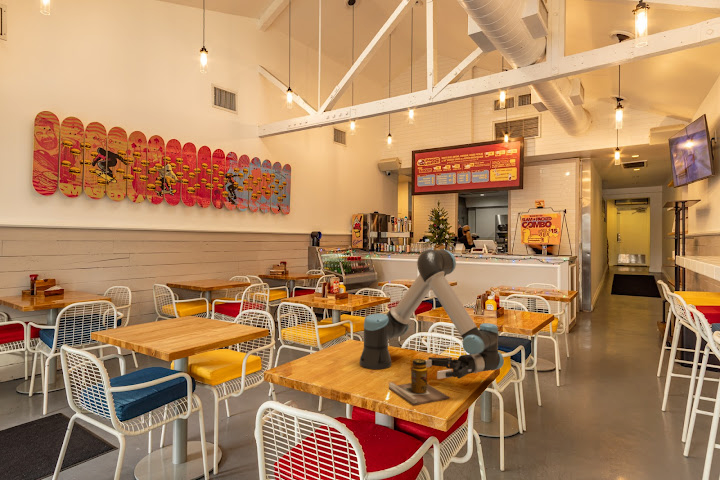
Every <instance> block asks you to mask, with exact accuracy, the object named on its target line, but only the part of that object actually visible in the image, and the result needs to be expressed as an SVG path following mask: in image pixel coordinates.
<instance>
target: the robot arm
mask: <svg viewBox="0 0 720 480" xmlns="http://www.w3.org/2000/svg"><path fill="white" fill-rule="evenodd" d="M456 261H457V260H456V257H455V255H454V254H453V253H452V252H451V251H449V250H447V249H443V248H441V249H427V250H425V251H423V252H421V253H420V255H419V256H418V258H417V261H416V266H417V267H416V268H417V270H418V273H419V275H418V276H417V277H416V278H415V279H414V281H413V282H412V284H411V286H410V287H409V288H408V289H407V291H406V293H404V295H403V296H402V298H401V299H400V301H399V302H398V303H397V304H396V306H393V307H391V308H390V309H389V310H388V312H387V313H386V314H384V313H372V314H369V315H366V316H365V318H364V322H363V349H362V352H361V355H360V358H359V365H360V366H361V367H362V368H365V369H370V370H384V369H387V368H390V367H392V359H391V354H390V351H389V340H391V339H394V338H399V337H401V336H403V335H404V334H406V333H407V332H408V330H409V329H410V328H409V327H410V325H409V324H410V323H411V317H412V315H413V314H414V313H415V311H416V310H417V309H418V307H419V306H420V305H421V303H422V301H424V299H425V298H426V296H428V294H429V293H430V291H431V290H432V293H434V295H435V297H436V298H437V300H438V302H439V303H440V304H441V306H442V308H443V310H444V311H445V313H446V314H447V316H448V317H449V320H450V321H451V322H452V324H453V325H454V327H455V329H456V331H457V332H458V334H459V335H460V337H461V339H462V348H463V350H464V352H466V353H467V354H461V355H459V357H458V358H457V359H455V358H454V359H452V358H453V357H431V356H430V357H428V359H424V360H425V361H426V368H431V367H432V366H433V367H434V366H435V367H442V368H446V369H444V370H443V369H442V370H438V371H436V379H437V380H442V379H446V378H452V377H453V378H457V379H458V380H459V379H462V378H465V376H467V375H469V374H477V373H481V372H488V371H490V372H491V371H496V370H499V369H502V367H503V366H504V362H505V361H504V357H503V354H502V353H501V352H500V351H499V326H498V325H496V324H494V323H488V322H487V323H486V322H485V323H484V322H483V323H481V324H480V325H479V328H478V325H476V323H475V322H474V320H473V318H472V317H471V316H470V313H468V310H466V307H465V306H464V304H463V303H462V301H461V300H460V298H459V297H458V295H457V294H456V292H455V290H454V289H453V287H452V285H451V284H450V283H449V281H448V280H447V278H446V276H447V275H450V274H452V273H453V272H454V270H456V266H457V262H456Z"/></svg>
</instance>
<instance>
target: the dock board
mask: <svg viewBox="0 0 720 480" xmlns="http://www.w3.org/2000/svg"><path fill="white" fill-rule="evenodd" d="M404 388H411V382H409V383H402V384H396V383H394V382H392V381H391V382H388V389H389V390H391V391H392V392H393V393H394V394H396V395H397V396H399V397H400V398H402V399H403V400H405V401H406V402H408V403H409V404H410V405H412V406H419V405H426V404H429V403H434V402H440V401H446V400H450V396H449V395H447V394H445V393H444V392H442V391H440V390H438V389H437V388H435V387H433V386H431V385H430V384H428V383H427V391H428V392H429V393H430V394H423V395H411V394H409V393H408V392H406V391H405V390H404Z"/></svg>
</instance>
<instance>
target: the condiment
mask: <svg viewBox="0 0 720 480" xmlns="http://www.w3.org/2000/svg"><path fill="white" fill-rule="evenodd" d="M425 360H426V359H422V358H415V359H413V360H412V364H411V365H412V366H411V373H410V376H411V378H410V380H411V381H410V383H411V388H404V390H405V391H406V392H408V393H409V394H411V395H423V394H430V393H429V392H428V391H427V384H428V367H426V361H425Z"/></svg>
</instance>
